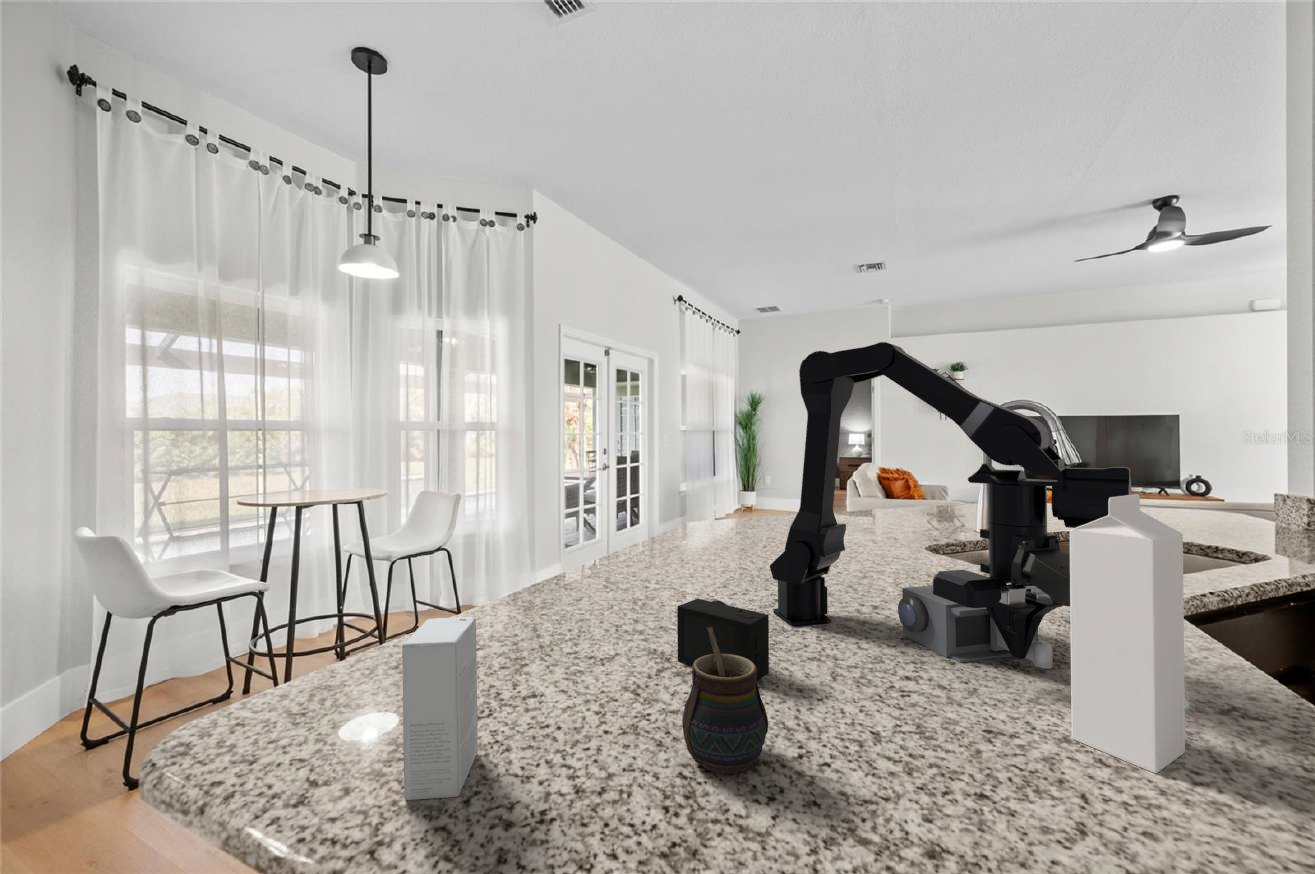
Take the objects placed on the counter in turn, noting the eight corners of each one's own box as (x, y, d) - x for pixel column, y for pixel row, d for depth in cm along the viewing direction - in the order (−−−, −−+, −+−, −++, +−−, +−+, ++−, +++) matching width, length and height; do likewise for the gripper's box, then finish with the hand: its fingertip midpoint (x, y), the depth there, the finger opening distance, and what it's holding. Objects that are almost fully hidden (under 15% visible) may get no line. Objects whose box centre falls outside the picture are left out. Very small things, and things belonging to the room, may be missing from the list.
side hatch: (1042, 672, 61) (1042, 631, 61) (990, 648, 68) (990, 612, 68) (1085, 667, 62) (1084, 627, 62) (1029, 644, 69) (1029, 608, 69)
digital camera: (775, 671, 64) (775, 611, 64) (751, 687, 59) (751, 623, 59) (703, 649, 70) (703, 595, 70) (677, 662, 66) (677, 605, 66)
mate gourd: (707, 795, 41) (706, 665, 41) (666, 744, 48) (665, 632, 48) (785, 772, 44) (784, 649, 44) (735, 727, 51) (735, 621, 51)
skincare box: (428, 756, 47) (427, 617, 47) (478, 753, 47) (478, 615, 47) (400, 803, 41) (400, 643, 41) (459, 799, 41) (458, 641, 41)
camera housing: (945, 664, 65) (944, 603, 65) (892, 636, 74) (892, 582, 74) (1049, 651, 68) (1049, 594, 68) (987, 626, 78) (986, 575, 78)
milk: (1185, 754, 46) (1186, 497, 46) (1156, 775, 43) (1156, 501, 43) (1100, 721, 52) (1100, 490, 52) (1068, 738, 49) (1068, 494, 49)
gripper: (1010, 539, 53) (1012, 699, 53) (1156, 530, 57) (1158, 679, 57) (928, 522, 64) (930, 655, 64) (1056, 516, 68) (1058, 641, 68)
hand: (1018, 658), depth 63 cm, fingers closed
